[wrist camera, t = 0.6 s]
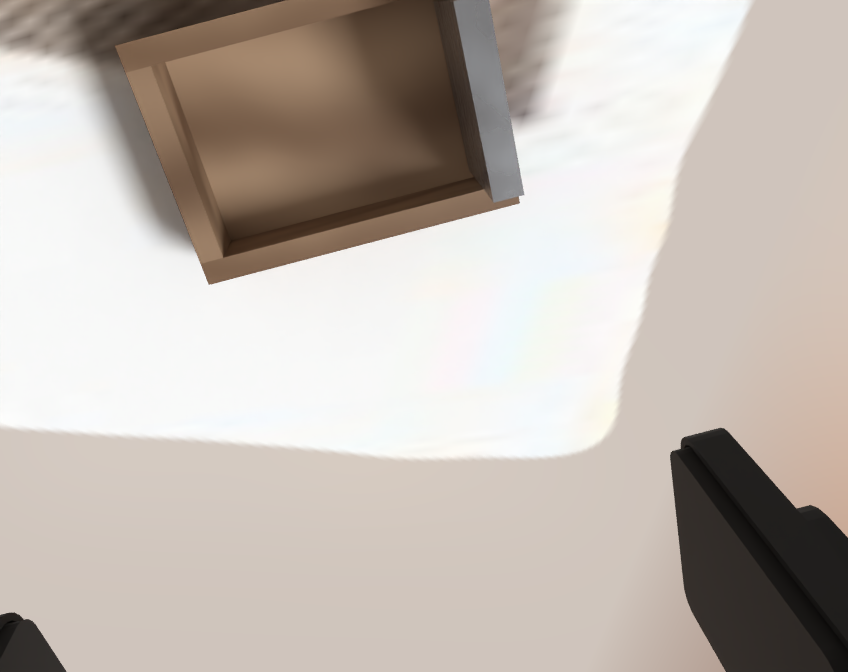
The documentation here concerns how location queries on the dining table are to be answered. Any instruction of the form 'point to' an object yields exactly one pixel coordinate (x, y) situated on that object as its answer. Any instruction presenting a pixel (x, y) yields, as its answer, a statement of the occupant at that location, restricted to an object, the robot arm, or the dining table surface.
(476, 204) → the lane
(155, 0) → the dining table surface
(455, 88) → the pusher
